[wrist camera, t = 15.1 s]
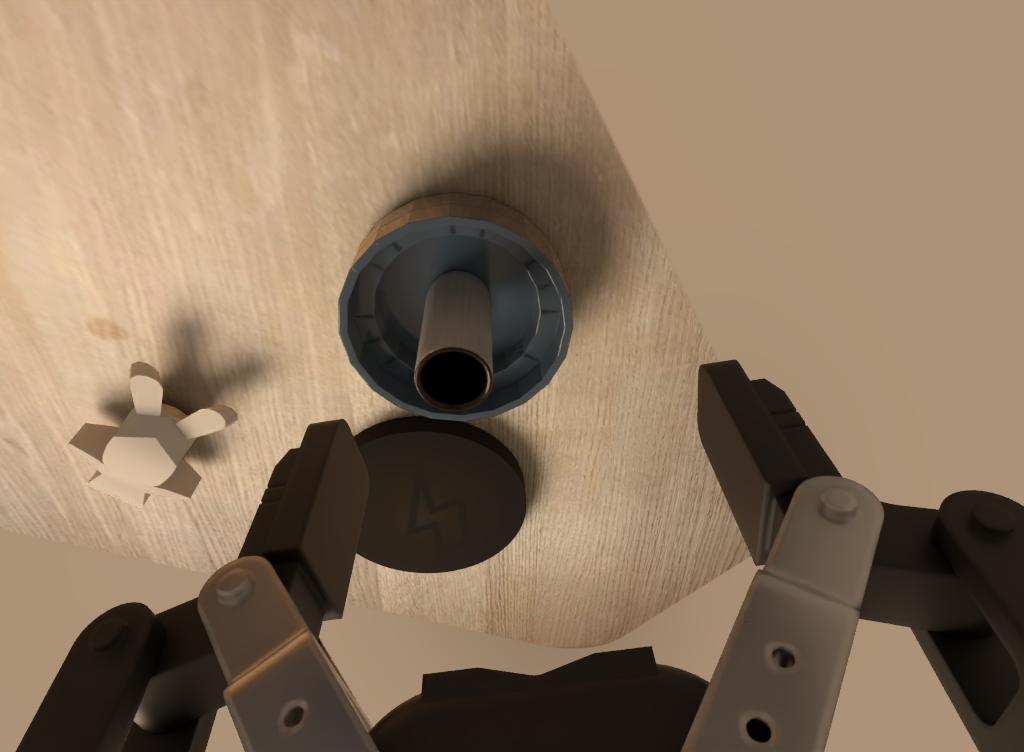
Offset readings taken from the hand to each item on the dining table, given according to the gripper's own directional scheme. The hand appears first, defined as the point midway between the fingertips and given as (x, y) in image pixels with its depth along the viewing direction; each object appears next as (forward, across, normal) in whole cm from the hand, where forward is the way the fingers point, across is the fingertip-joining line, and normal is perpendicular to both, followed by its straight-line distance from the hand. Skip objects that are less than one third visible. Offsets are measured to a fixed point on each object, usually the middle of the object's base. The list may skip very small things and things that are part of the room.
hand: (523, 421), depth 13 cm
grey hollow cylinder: (+28, +5, +11) cm, 30 cm away
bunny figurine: (+28, +31, +18) cm, 45 cm away
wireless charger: (+28, +12, +30) cm, 43 cm away
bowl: (+28, +5, +11) cm, 30 cm away
